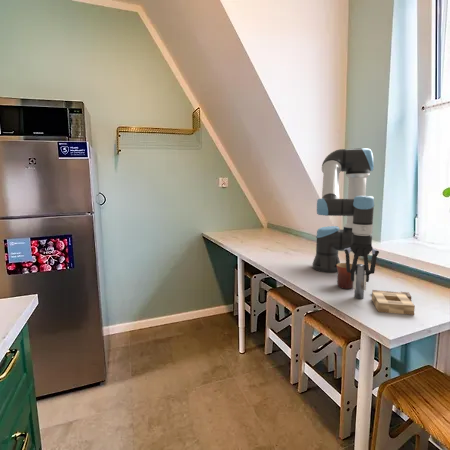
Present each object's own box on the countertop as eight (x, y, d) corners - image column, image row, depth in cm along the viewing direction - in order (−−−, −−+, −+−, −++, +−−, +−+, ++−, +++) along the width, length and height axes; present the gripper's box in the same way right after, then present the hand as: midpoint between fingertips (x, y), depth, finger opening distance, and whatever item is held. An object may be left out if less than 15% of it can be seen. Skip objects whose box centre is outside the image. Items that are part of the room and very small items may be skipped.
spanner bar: (373, 297, 130) (373, 293, 130) (372, 293, 135) (372, 288, 135) (411, 301, 126) (411, 296, 126) (408, 296, 130) (408, 292, 130)
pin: (353, 295, 132) (355, 263, 130) (362, 296, 131) (364, 264, 129) (354, 298, 129) (356, 266, 127) (364, 299, 128) (365, 266, 126)
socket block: (371, 299, 128) (372, 291, 127) (403, 302, 125) (404, 293, 124) (378, 311, 116) (379, 303, 116) (414, 314, 113) (414, 305, 113)
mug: (339, 290, 138) (340, 268, 137) (332, 283, 147) (333, 263, 145) (366, 289, 139) (367, 267, 137) (357, 283, 147) (358, 262, 146)
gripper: (342, 235, 124) (339, 290, 128) (386, 236, 120) (382, 293, 124) (339, 231, 131) (337, 284, 135) (381, 232, 127) (378, 286, 131)
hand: (359, 288), depth 130 cm, fingers closed on pin, 3 cm apart
